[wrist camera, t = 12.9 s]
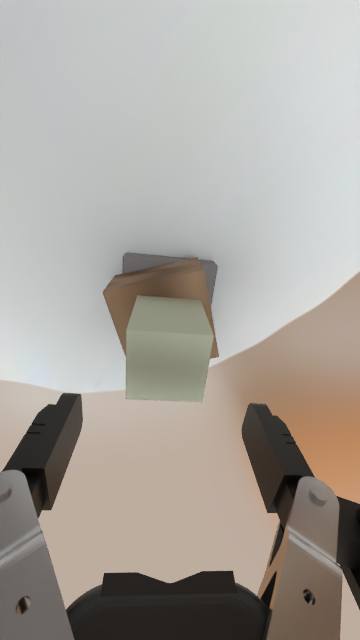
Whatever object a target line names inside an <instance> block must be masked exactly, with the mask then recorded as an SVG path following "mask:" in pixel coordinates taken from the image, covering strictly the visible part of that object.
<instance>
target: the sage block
mask: <svg viewBox="0 0 360 640" xmlns="http://www.w3.org/2000/svg"><path fill="white" fill-rule="evenodd" d="M213 337H214V335H213V332H212V329H211V327H210V324H209V321H208V319H207V316H206V313H205V310H204V308H203V305H202V302H201V300H195V299H181V298H168V297H155V296H141V295H137V298H136V301H135V304H134V308H133V311H132V314H131V317H130V320H129V323H128V327H127V330H126V399H135V400H161V401H189V402H202V401H203V395H204V389H205V383H206V378H207V372H208V366H209V360H210V355H211V349H212V343H213Z"/></svg>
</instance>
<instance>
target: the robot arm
mask: <svg viewBox="0 0 360 640" xmlns="http://www.w3.org/2000/svg"><path fill="white" fill-rule="evenodd" d="M82 421H83V417H82V401H81V394H73V393H63V394H62V395H61V397H60V399H59V400H58V402H57V404H56V405H52V404H48V406H46V407H45V408H44V409H42V410H41V411H40V412H39V413H38V414H37V416H36V417H35V419H34V421H33V422H32V425H31V426H30V427H29V429H28V430H27V433H26V434H25V435H24V437H23V439H22V440H21V442H20V443H19V445H18V447H17V448H16V450H15V452H14V453H13V455H12V457H11V458H10V460H9V461H8V463H7V465H6V466H5V468H4V469H3V471H2V472H1V473H0V640H340V624H341V599H342V571H343V573H344V575H345V578H346V580H347V582H348V585H349V587H350V589H351V591H352V594H353V596H354V598H355V600H356V602H357V605H358V607H359V609H360V504H358V503H355V502H352V501H349V500H346V499H343V498H340V497H338V496H336V495H335V494H334V492H333V491H332V490H331V489H330V487H328V486H327V485H326V484H325V483H324V482H322V481H320V480H319V479H317V478H315V477H314V475H313V473H312V471H311V469H310V468H309V466H308V464H307V462H306V461H305V459H304V457H303V455H302V453H301V451H300V450H299V448H298V446H297V445H296V442H295V441H294V439H293V437H292V436H291V433H290V431H289V430H288V428H287V426H286V424H285V423H284V422H283V421H282V420H281V419H280V418H278V416H272V414H271V412H270V410H269V408H268V406H267V405H266V404H255V403H250V404H249V405H248V408H247V412H246V415H245V418H244V422H243V425H242V438H243V441H244V444H245V447H246V450H247V453H248V456H249V459H250V462H251V465H252V468H253V471H254V474H255V477H256V480H257V483H258V486H259V489H260V492H261V495H262V498H263V501H264V504H265V507H266V510H267V513H277V514H278V516H279V519H280V521H279V524H278V527H277V531H276V535H275V538H274V542H273V546H272V549H271V553H270V557H269V561H268V564H267V568H266V571H265V575H264V578H263V580H262V583H261V586H260V588H259V591H258V595H257V596H256V595H255V594H254V593H253V592H251V591H250V590H249V589H247V588H245V587H243V586H242V585H240V584H238V583H235V580H234V575H233V571H202V572H200V573H197V574H195V575H192V576H189V577H187V578H185V579H182V580H180V581H177V582H174V583H166V582H163V581H159V580H157V579H154V578H151V577H148V576H146V575H143V574H140V573H104V577H103V584H102V585H99V586H97V587H95V588H93V589H91V590H89V591H87V592H86V593H84V594H83V595H82V596H80V597H79V598H78V599H77V600H75V601H74V602H73V603H72V604H71V605H70V606H69V607H68V608H67V609H65V606H64V603H63V600H62V596H61V593H60V589H59V586H58V582H57V579H56V576H55V572H54V569H53V565H52V562H51V558H50V555H49V551H48V548H47V545H46V541H45V538H44V535H43V532H42V531H41V528H40V524H39V521H38V518H39V516H40V513H41V511H42V510H51V509H52V507H53V504H54V501H55V499H56V496H57V493H58V490H59V488H60V485H61V483H62V480H63V477H64V474H65V472H66V469H67V467H68V464H69V461H70V459H71V456H72V453H73V450H74V448H75V445H76V442H77V440H78V437H79V434H80V432H81V428H82ZM337 563H339V564H340V566H339V565H337Z"/></svg>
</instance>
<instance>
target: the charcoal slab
mask: <svg viewBox="0 0 360 640" xmlns="http://www.w3.org/2000/svg"><path fill="white" fill-rule="evenodd" d="M184 260H188V259H187V258H177V257H167V256H157V255H146V254H136V253H126V254H125V255H124V256H123V274H125V273H129V272H134V271H138V270H143V269H147V268H152V267H157V266H161V265H166V264H170V263H175V262H179V261H184ZM199 262H200V263H201V265H202V267H203V269H204V272H205V277H206V283H207V289H208V295H209V301H210V307H211V303H212V297H213V291H214V285H215V279H216V273H217V267H218V266H217V265H216V264H215V262H214V261H208V260H199Z"/></svg>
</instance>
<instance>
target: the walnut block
mask: <svg viewBox="0 0 360 640" xmlns="http://www.w3.org/2000/svg"><path fill="white" fill-rule="evenodd" d="M103 295H104V297H105V300H106V303H107V306H108V309H109V311H110V314H111V317H112V320H113V322H114V325H115V328H116V331H117V334H118V336H119V339H120V342H121V345H122V348H123V350H124V353H125V356H126V330H127V327H128V323H129V320H130V317H131V314H132V311H133V308H134V304H135V301H136V298H137V295H141V296H155V297H168V298H181V299H195V300H201V302H202V305H203V308H204V310H205V313H206V316H207V319H208V321H209V324H210V327H211V329H212V332H213V335H214V337H213V343H212V349H211V355H210V359H211V358H216V357H219V354H218V348H217V342H216V337H215V331H214V325H213V319H212V313H211V307H210V301H209V295H208V289H207V283H206V277H205V272H204V269H203V267H202V265H201V263H200V262H199V260H198V258H193V259H188V260H184V261H179V262H175V263H170V264H166V265H161V266H157V267H152V268H147V269H143V270H138V271H134V272H129V273H125V274H120V275H116V276H114V278H113V279H112V280H111V282H110V283H109V284H108V286H107V287H106V288H105V290H104V291H103Z"/></svg>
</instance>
